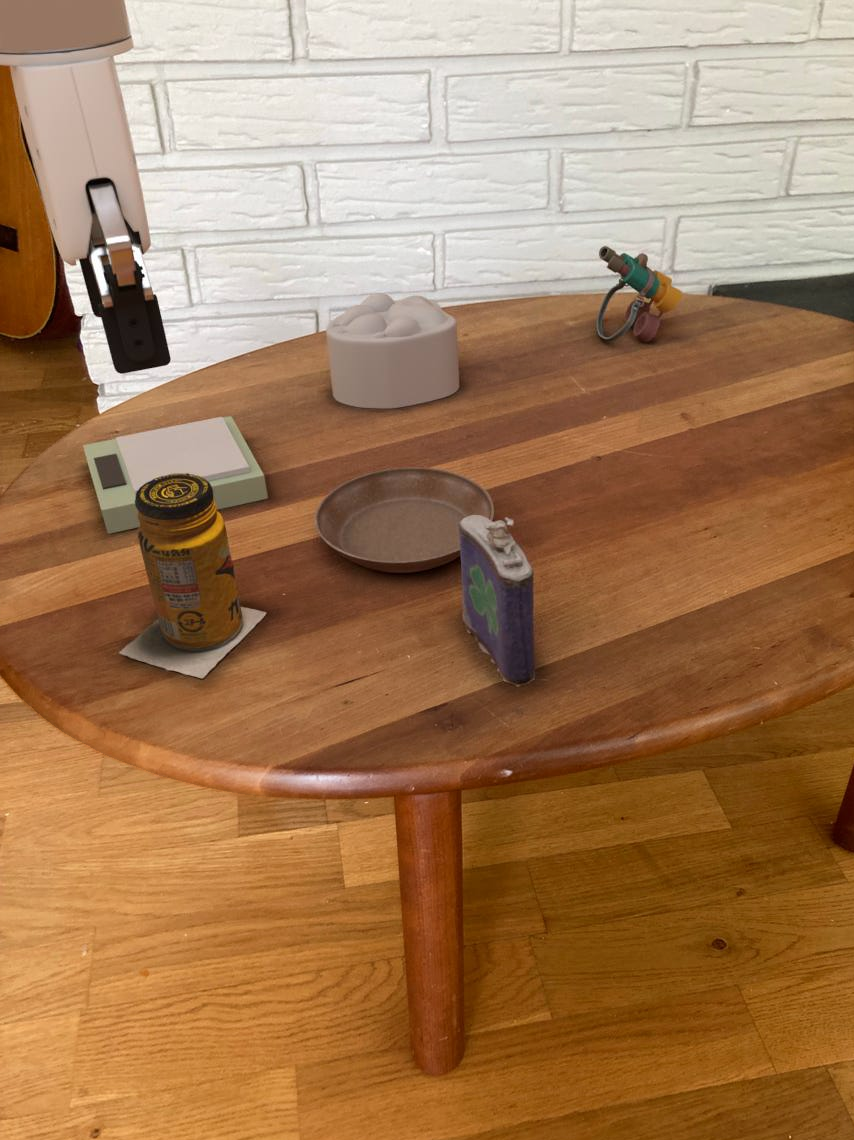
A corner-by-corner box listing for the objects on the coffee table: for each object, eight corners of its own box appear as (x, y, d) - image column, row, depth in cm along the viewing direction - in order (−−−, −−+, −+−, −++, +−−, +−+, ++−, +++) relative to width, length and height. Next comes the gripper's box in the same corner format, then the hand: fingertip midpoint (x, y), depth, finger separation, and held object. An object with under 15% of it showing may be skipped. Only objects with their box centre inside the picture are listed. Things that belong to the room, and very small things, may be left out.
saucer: (409, 611, 82) (407, 581, 80) (281, 545, 90) (277, 517, 88) (530, 530, 91) (530, 503, 89) (404, 477, 99) (402, 450, 97)
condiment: (267, 614, 82) (242, 475, 75) (202, 680, 76) (168, 536, 69) (188, 594, 85) (156, 457, 77) (119, 656, 78) (78, 515, 71)
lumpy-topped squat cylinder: (468, 393, 113) (465, 312, 107) (350, 418, 109) (341, 335, 103) (431, 357, 120) (427, 280, 115) (319, 379, 116) (310, 300, 111)
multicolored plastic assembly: (639, 368, 122) (693, 291, 117) (574, 331, 118) (627, 250, 113) (620, 337, 129) (670, 263, 124) (558, 301, 125) (607, 223, 121)
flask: (457, 619, 81) (452, 495, 75) (492, 609, 82) (490, 485, 75) (508, 691, 74) (508, 561, 68) (546, 679, 75) (549, 550, 69)
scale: (108, 534, 92) (99, 503, 90) (89, 467, 101) (81, 439, 100) (268, 498, 96) (263, 468, 94) (235, 438, 106) (230, 410, 104)
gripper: (-30, 8, 61) (53, 304, 72) (-14, 55, 48) (85, 406, 59) (104, -4, 63) (167, 285, 74) (154, 37, 51) (221, 379, 61)
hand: (130, 338), depth 66 cm, fingers open, 9 cm apart
